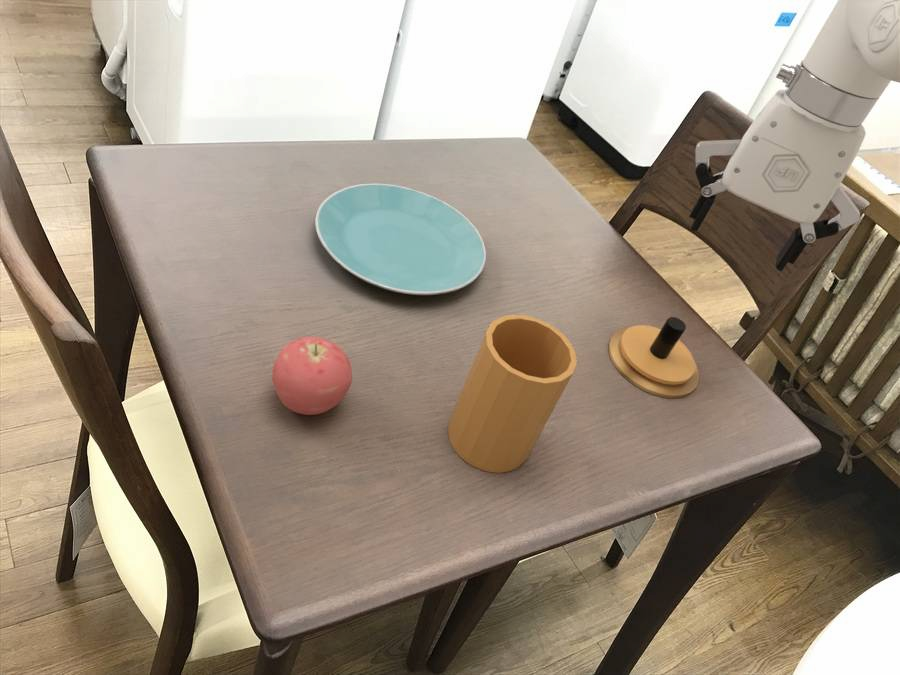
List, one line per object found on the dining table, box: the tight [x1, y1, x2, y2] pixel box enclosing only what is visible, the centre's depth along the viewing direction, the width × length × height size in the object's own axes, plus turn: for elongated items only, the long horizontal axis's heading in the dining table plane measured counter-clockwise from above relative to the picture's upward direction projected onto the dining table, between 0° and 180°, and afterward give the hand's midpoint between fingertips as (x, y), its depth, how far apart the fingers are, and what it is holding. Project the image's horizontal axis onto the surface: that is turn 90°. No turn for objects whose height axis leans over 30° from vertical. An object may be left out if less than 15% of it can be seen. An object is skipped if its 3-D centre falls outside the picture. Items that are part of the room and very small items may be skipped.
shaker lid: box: [620, 316, 696, 385], centre depth 94 cm, size 10×10×6 cm
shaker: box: [447, 314, 578, 474], centre depth 75 cm, size 9×9×14 cm
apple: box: [271, 336, 353, 416], centre depth 74 cm, size 7×7×8 cm
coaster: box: [607, 326, 700, 399], centre depth 96 cm, size 12×12×1 cm
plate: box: [314, 182, 487, 296], centre depth 98 cm, size 22×22×3 cm
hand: (736, 244), depth 82 cm, fingers open, 9 cm apart
